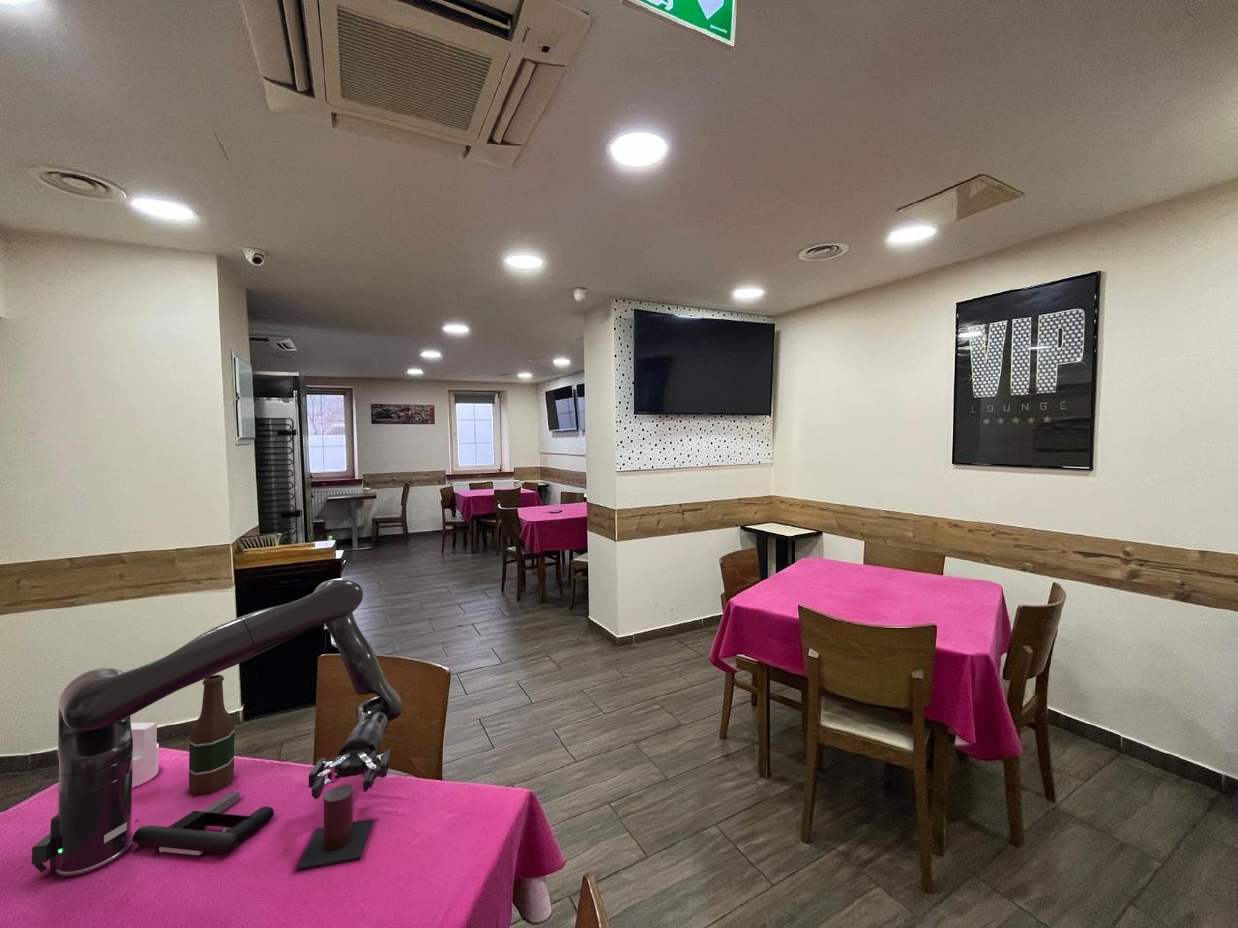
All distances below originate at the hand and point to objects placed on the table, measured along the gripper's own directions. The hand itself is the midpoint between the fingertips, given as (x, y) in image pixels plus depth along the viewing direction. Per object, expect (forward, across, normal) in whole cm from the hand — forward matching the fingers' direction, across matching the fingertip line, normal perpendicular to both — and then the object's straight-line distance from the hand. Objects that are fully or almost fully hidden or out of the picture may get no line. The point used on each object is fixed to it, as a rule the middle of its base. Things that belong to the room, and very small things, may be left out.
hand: (340, 790), depth 93 cm
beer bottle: (-25, -33, +9) cm, 43 cm away
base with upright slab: (-32, -52, +9) cm, 62 cm away
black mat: (+2, 0, +9) cm, 9 cm away
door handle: (-9, -25, +9) cm, 28 cm away
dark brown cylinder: (+2, 0, +8) cm, 9 cm away
